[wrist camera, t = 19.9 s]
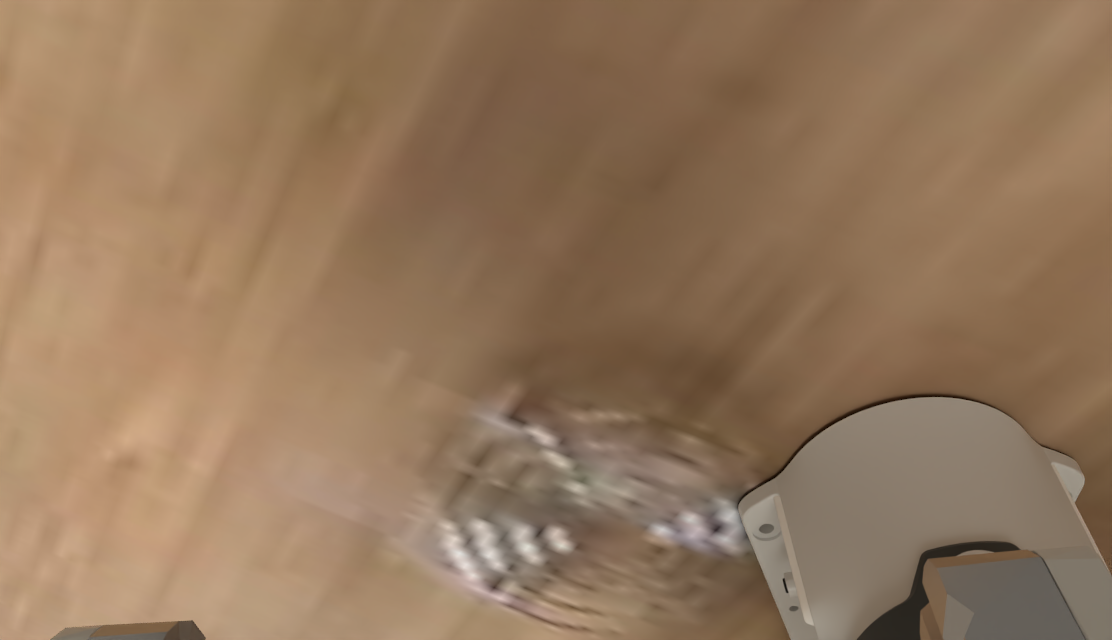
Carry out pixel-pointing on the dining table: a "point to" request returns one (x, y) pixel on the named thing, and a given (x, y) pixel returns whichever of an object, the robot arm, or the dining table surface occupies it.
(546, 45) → the dining table surface
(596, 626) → the dining table surface
